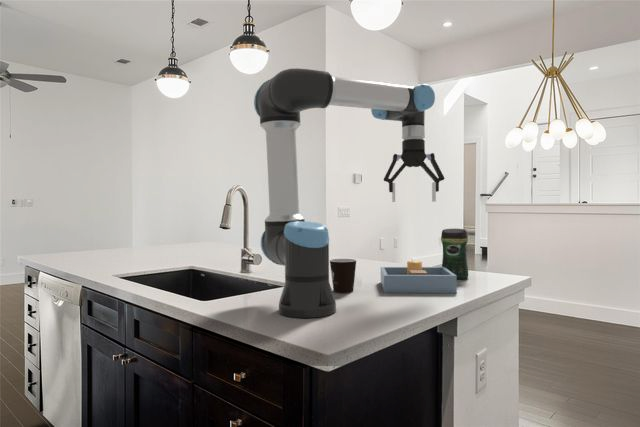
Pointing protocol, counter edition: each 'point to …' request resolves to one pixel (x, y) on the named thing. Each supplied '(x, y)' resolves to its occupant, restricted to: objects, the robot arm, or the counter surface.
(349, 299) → the counter surface
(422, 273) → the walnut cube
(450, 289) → the tote
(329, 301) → the robot arm
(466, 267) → the coffee jar
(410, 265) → the orange cylinder
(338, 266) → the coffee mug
